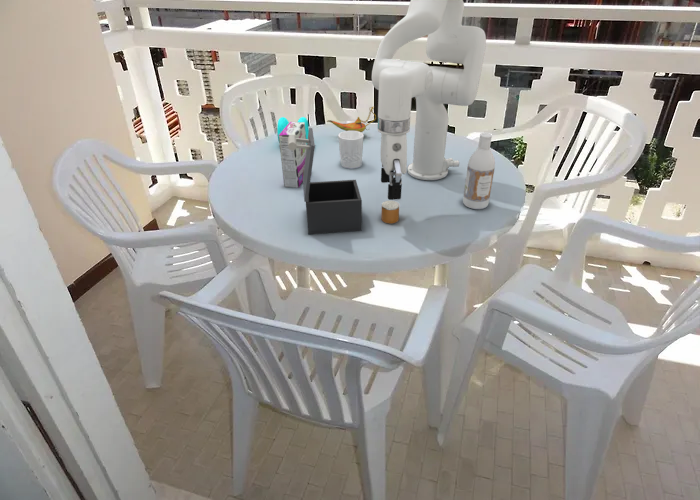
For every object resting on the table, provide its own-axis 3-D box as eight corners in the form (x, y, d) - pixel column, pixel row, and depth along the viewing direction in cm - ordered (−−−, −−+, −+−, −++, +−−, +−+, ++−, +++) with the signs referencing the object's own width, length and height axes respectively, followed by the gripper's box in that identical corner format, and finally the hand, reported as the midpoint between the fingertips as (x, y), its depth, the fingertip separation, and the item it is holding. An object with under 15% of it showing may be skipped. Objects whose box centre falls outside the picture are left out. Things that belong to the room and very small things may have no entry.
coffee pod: (396, 214, 129) (397, 200, 127) (400, 222, 125) (401, 208, 123) (379, 215, 129) (380, 201, 126) (382, 224, 125) (383, 209, 123)
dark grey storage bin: (355, 208, 132) (355, 179, 127) (361, 230, 122) (361, 200, 117) (306, 211, 131) (304, 182, 126) (308, 234, 121) (306, 203, 116)
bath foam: (469, 211, 130) (479, 140, 119) (458, 199, 136) (467, 131, 124) (492, 208, 131) (505, 138, 120) (481, 196, 137) (492, 128, 126)
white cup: (335, 167, 154) (334, 137, 149) (344, 158, 160) (344, 129, 155) (358, 171, 152) (358, 141, 146) (366, 161, 158) (367, 132, 152)
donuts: (307, 150, 166) (305, 122, 160) (278, 151, 166) (275, 122, 160) (309, 140, 174) (308, 113, 169) (282, 140, 174) (279, 113, 169)
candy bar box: (293, 171, 152) (289, 121, 143) (309, 172, 151) (305, 122, 142) (282, 187, 143) (277, 134, 134) (299, 188, 142) (294, 135, 133)
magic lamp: (326, 135, 178) (325, 106, 172) (373, 132, 180) (374, 103, 174) (328, 142, 172) (327, 112, 166) (377, 139, 174) (378, 108, 168)
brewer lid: (312, 128, 118) (288, 125, 117) (314, 145, 108) (289, 143, 107) (305, 181, 126) (283, 179, 124) (307, 202, 116) (283, 200, 115)
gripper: (418, 136, 106) (412, 205, 115) (401, 112, 120) (398, 175, 129) (384, 137, 105) (381, 207, 114) (372, 113, 119) (370, 176, 129)
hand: (390, 190), depth 122 cm, fingers open, 9 cm apart
